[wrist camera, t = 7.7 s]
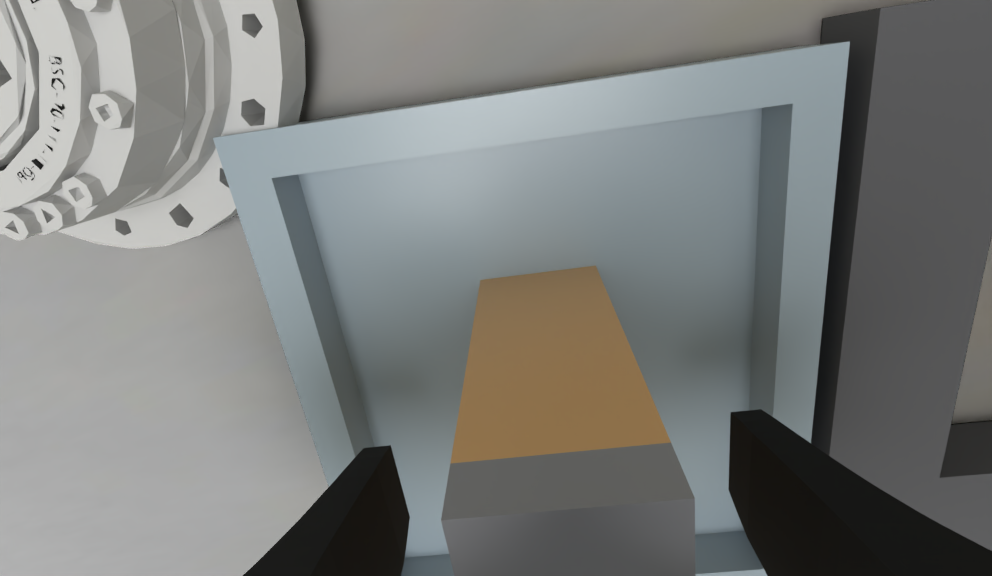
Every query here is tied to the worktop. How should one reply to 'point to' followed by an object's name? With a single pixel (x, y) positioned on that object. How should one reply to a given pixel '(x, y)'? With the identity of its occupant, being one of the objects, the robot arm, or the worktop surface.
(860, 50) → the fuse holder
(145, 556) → the worktop surface
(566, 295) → the orange two-tone block
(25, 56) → the mechanical component
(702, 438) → the parts tray
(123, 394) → the worktop surface
